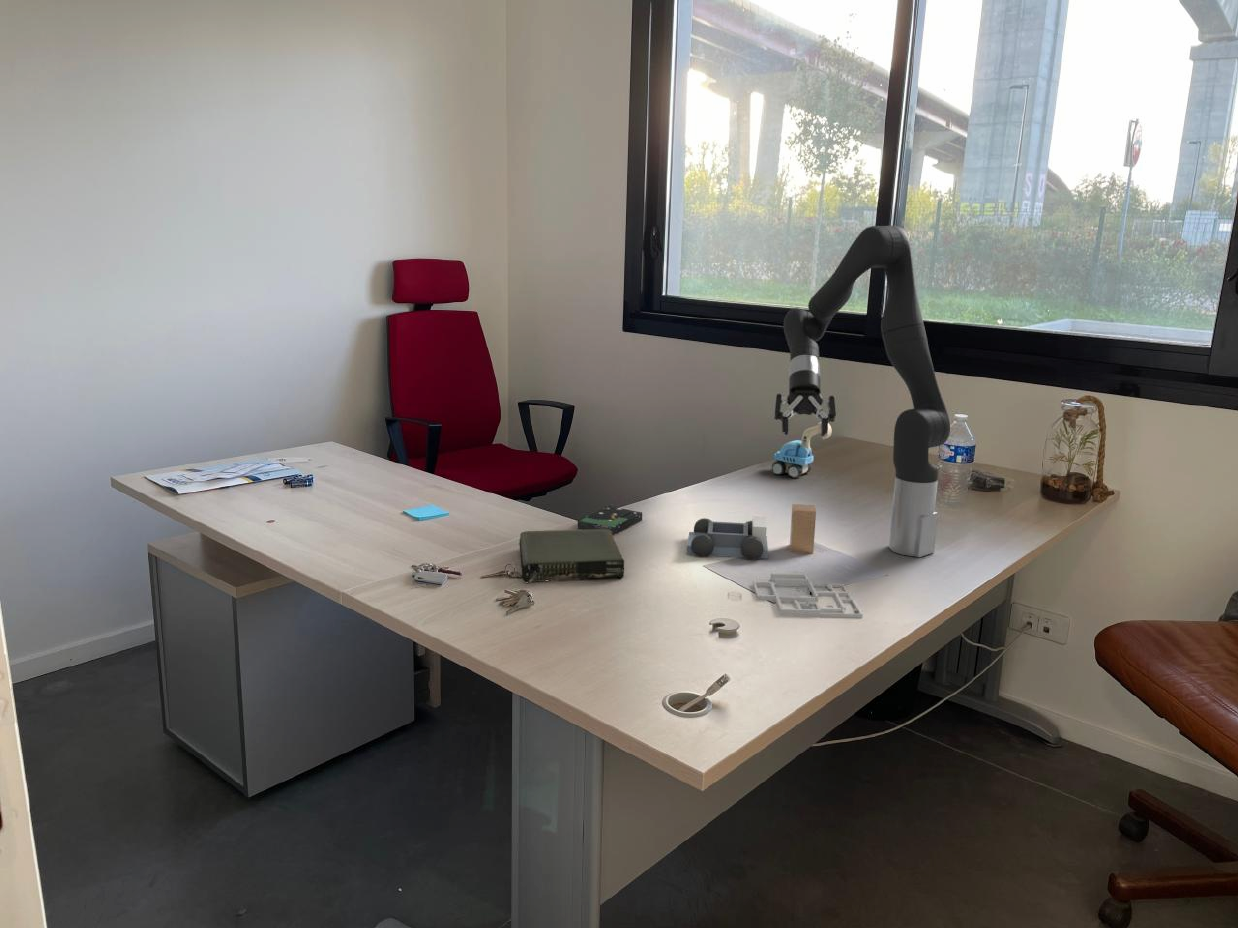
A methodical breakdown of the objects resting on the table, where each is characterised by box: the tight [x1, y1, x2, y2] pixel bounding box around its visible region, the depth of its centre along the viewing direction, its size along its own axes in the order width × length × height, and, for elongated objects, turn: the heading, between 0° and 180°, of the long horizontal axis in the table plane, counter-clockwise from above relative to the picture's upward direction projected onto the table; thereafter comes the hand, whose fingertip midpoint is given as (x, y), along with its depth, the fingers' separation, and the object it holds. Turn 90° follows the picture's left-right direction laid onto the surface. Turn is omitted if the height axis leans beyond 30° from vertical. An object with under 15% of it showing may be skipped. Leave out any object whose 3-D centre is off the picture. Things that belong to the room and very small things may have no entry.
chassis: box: [686, 515, 769, 561], centre depth 211 cm, size 18×13×7 cm
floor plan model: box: [752, 572, 864, 618], centre depth 184 cm, size 19×25×2 cm
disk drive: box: [577, 505, 643, 536], centre depth 228 cm, size 10×3×15 cm
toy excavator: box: [771, 421, 833, 479], centre depth 275 cm, size 9×17×17 cm, turn 53°
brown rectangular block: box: [789, 503, 817, 554], centre depth 211 cm, size 5×5×10 cm
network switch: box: [518, 529, 625, 583], centre depth 201 cm, size 23×24×5 cm
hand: (804, 433), depth 218 cm, fingers open, 8 cm apart
